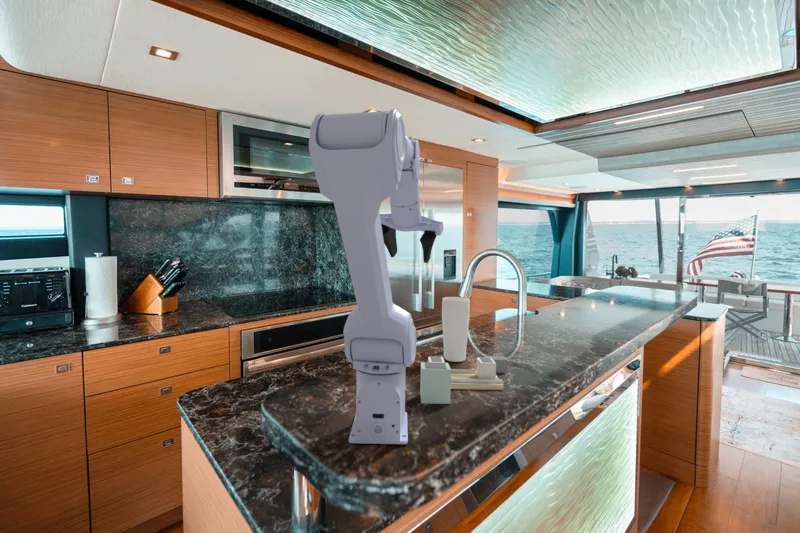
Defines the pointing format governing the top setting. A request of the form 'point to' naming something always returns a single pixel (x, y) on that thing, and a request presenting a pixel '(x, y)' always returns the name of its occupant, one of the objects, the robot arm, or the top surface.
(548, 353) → the top surface
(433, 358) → the mounted modules
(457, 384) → the rail panel
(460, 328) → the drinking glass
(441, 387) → the box
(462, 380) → the din rail
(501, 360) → the block
